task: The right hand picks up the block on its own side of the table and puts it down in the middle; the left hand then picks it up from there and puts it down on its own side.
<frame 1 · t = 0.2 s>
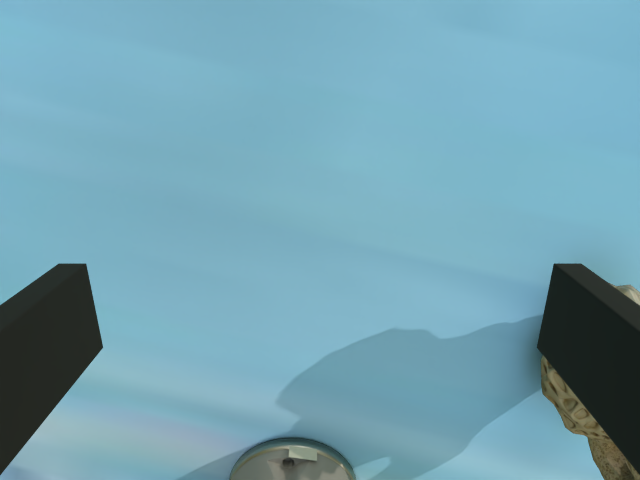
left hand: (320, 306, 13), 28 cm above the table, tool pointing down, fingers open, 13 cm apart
teapot: (576, 344, 46), on the table
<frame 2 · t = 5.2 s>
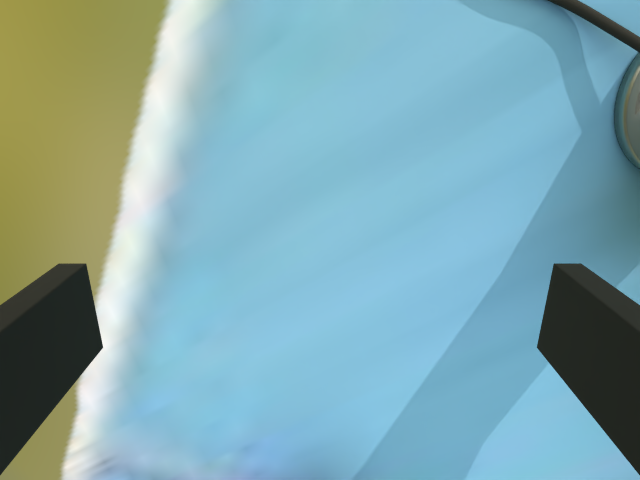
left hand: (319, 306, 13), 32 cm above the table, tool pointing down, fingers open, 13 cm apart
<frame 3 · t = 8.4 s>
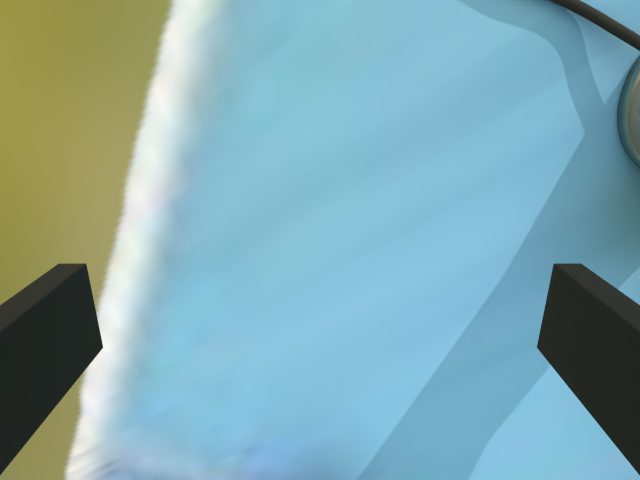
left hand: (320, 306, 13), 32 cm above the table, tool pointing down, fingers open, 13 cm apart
when the right hand's fingers open (4 cm above the table, at t = 11.5 s): block stays where it is, on the table.
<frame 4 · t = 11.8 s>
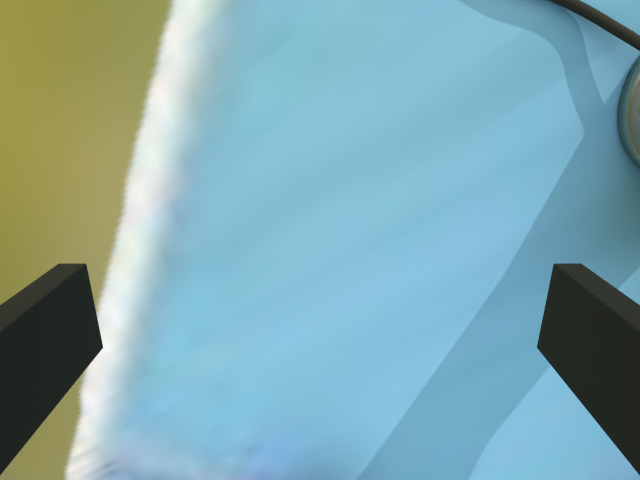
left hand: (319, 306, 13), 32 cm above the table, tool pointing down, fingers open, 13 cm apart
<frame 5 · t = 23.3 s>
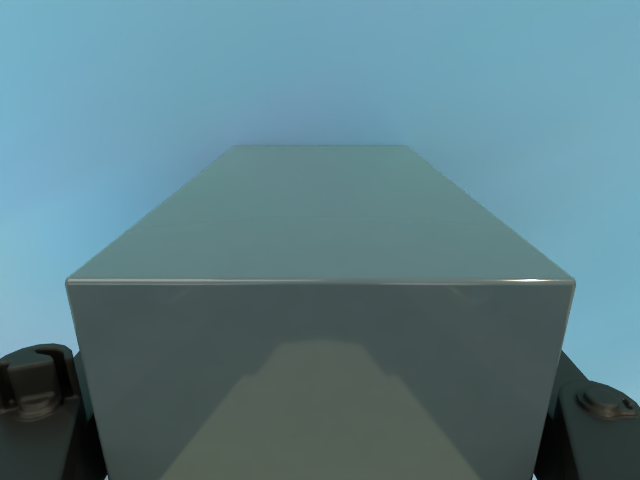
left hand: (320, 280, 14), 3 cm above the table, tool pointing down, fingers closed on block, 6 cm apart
block: (320, 245, 17), on the table, touching left hand
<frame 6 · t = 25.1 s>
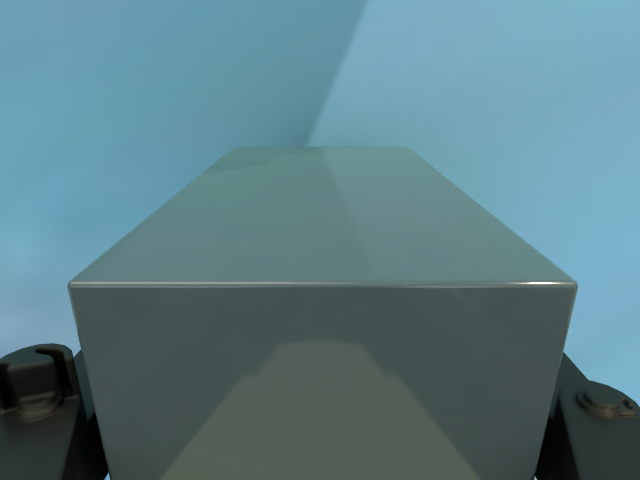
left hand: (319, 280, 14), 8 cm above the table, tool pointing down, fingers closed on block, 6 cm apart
block: (320, 246, 18), point 5 cm above the table, touching left hand
when the left hand's fingers open (4 cm above the table, at t = 27.2 s): block stays where it is, on the table.
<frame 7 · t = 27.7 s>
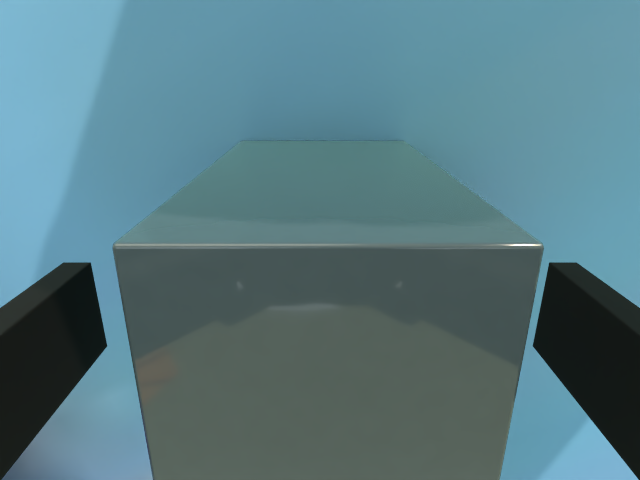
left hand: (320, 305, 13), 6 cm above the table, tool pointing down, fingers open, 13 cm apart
block: (322, 235, 19), on the table
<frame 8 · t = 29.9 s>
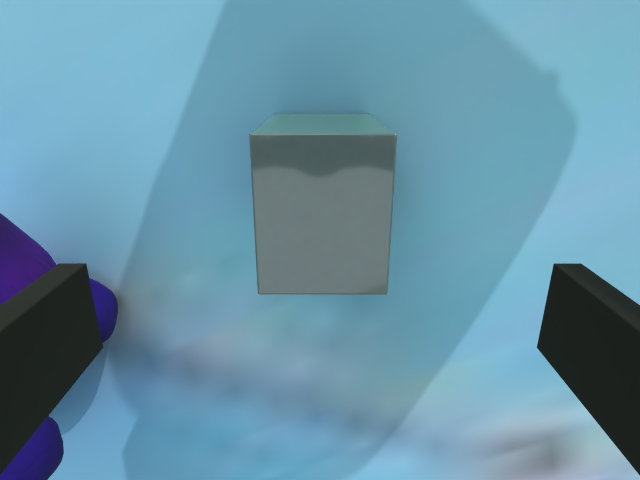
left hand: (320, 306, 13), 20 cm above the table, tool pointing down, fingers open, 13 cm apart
block: (321, 170, 31), on the table
toy: (19, 307, 35), on the table
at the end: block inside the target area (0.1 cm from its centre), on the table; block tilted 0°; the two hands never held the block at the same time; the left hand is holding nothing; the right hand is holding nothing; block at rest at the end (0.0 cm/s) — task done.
